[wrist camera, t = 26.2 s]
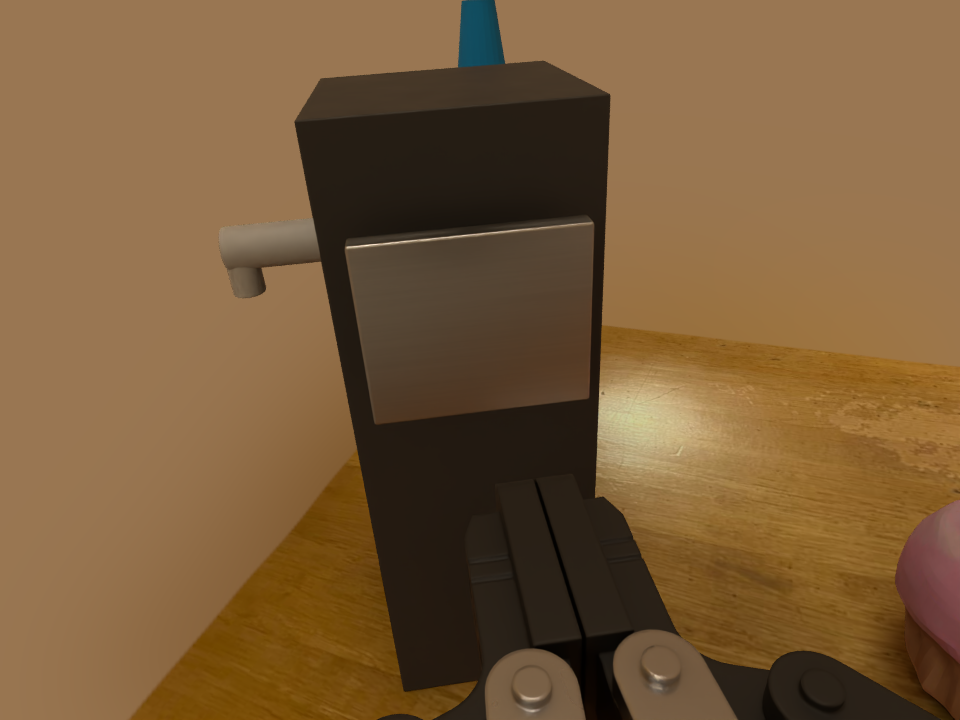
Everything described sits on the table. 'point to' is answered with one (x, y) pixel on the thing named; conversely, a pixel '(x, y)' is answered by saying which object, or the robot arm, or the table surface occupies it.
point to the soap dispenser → (431, 206)
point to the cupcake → (934, 604)
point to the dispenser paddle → (474, 316)
